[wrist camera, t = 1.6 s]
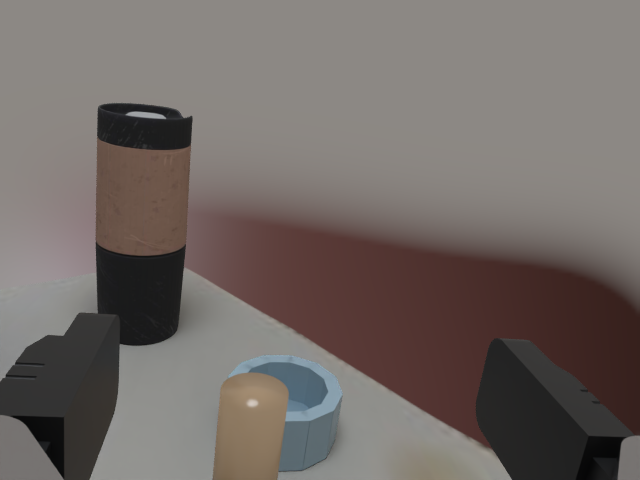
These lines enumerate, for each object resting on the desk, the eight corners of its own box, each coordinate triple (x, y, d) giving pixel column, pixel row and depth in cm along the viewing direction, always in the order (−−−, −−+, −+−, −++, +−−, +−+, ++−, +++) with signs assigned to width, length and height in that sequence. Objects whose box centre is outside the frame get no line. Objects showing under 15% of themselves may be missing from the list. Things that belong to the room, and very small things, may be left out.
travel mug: (79, 338, 50) (78, 108, 44) (117, 302, 57) (121, 99, 51) (164, 353, 50) (175, 123, 43) (191, 314, 57) (205, 112, 50)
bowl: (203, 420, 42) (206, 373, 41) (287, 388, 47) (293, 345, 46) (267, 488, 37) (274, 436, 35) (355, 443, 42) (363, 397, 40)
